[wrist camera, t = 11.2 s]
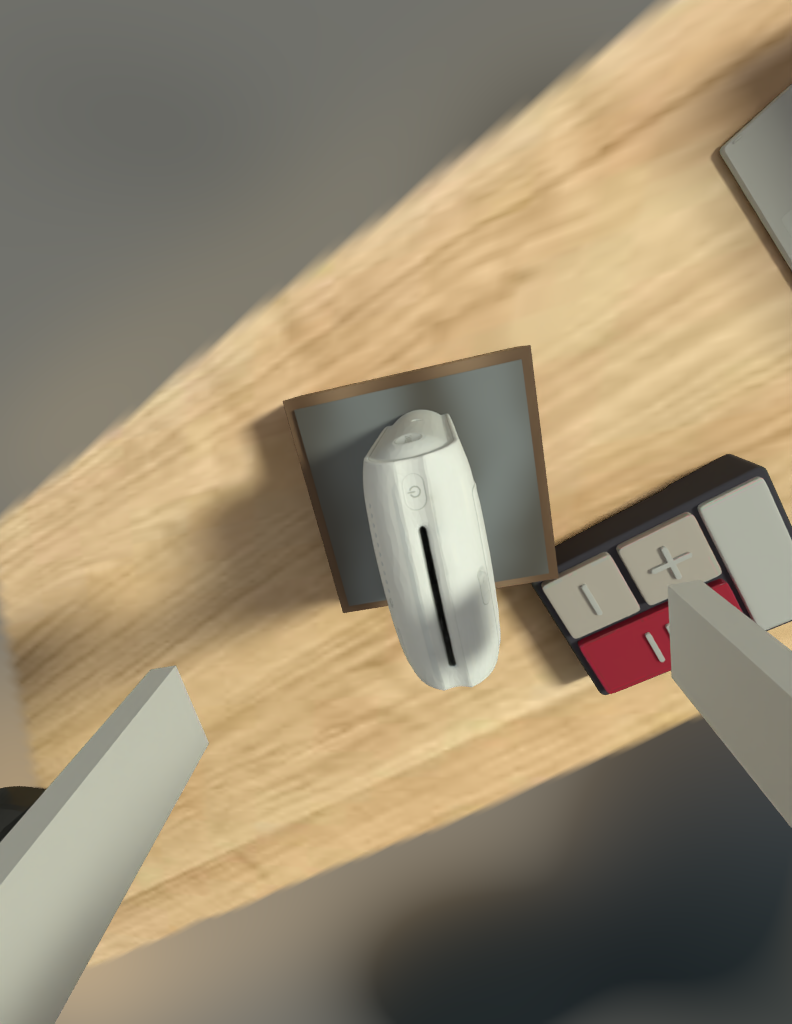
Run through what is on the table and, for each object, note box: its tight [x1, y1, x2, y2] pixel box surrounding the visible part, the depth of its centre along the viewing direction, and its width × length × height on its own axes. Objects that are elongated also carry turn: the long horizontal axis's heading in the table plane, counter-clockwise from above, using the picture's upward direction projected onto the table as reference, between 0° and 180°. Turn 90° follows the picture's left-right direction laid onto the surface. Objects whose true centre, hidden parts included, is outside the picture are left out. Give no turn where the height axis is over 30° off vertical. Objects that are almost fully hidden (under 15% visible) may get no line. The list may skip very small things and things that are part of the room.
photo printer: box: [363, 410, 500, 690], centre depth 21 cm, size 10×4×12 cm, turn 12°
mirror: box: [283, 345, 559, 613], centre depth 29 cm, size 14×14×4 cm
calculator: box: [531, 454, 792, 695], centre depth 31 cm, size 11×4×15 cm
